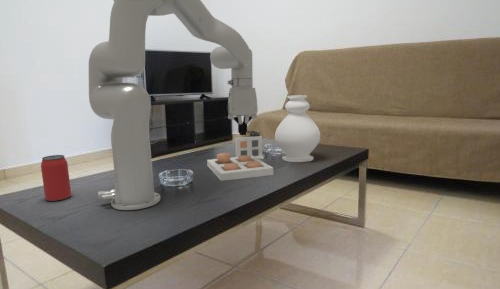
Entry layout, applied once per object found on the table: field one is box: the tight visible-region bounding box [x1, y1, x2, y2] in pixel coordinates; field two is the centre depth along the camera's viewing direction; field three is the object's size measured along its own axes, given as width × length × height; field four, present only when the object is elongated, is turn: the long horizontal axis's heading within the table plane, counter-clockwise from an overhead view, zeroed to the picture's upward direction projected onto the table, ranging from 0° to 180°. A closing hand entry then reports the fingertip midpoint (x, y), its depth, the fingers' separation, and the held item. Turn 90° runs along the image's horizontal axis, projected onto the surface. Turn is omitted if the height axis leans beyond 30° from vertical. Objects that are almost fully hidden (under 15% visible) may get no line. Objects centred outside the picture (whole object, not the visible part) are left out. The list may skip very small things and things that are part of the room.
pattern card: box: [234, 135, 265, 160], centre depth 143 cm, size 11×4×9 cm, turn 108°
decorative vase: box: [274, 94, 321, 163], centre depth 140 cm, size 18×18×25 cm
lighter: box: [245, 129, 264, 155], centre depth 155 cm, size 8×3×10 cm, turn 58°
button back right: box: [238, 155, 251, 162], centre depth 132 cm, size 5×5×3 cm
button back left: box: [216, 152, 231, 164], centre depth 129 cm, size 5×5×3 cm
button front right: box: [246, 161, 260, 168], centre depth 123 cm, size 5×5×3 cm
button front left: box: [224, 163, 238, 171], centre depth 120 cm, size 5×5×3 cm
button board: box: [206, 156, 275, 182], centre depth 126 cm, size 18×22×2 cm
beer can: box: [40, 154, 72, 202], centre depth 100 cm, size 7×7×12 cm
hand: (242, 134), depth 130 cm, fingers closed
